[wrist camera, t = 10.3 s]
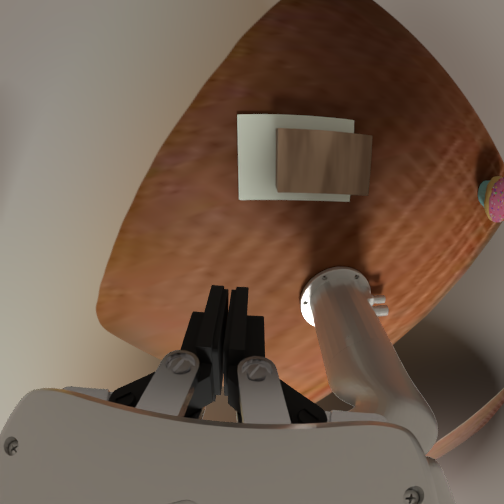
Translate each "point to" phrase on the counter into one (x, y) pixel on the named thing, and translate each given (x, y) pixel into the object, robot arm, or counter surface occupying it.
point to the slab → (322, 162)
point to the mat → (264, 153)
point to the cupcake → (493, 198)
